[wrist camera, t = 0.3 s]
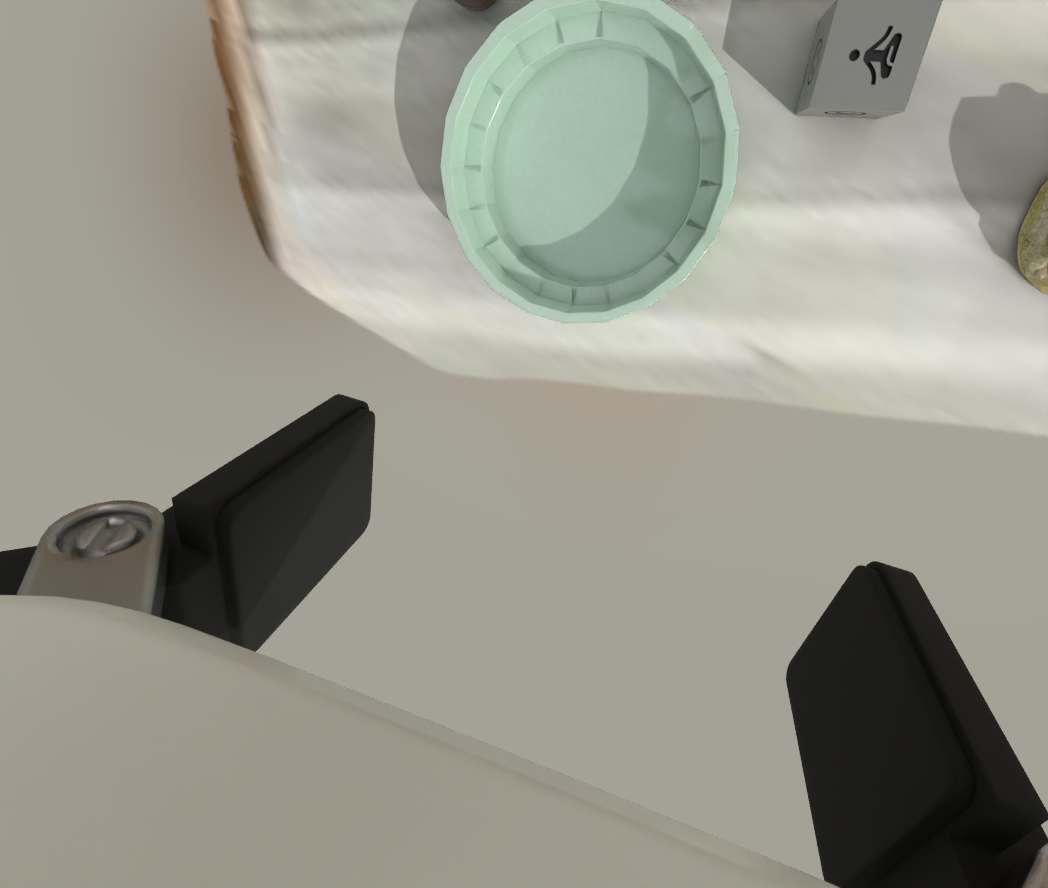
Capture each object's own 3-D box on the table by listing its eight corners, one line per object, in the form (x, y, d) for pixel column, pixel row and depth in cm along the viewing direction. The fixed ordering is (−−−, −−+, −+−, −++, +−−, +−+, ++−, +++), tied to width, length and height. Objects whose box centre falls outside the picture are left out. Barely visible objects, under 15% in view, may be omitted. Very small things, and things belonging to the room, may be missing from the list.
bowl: (431, 101, 41) (393, 91, 35) (685, -58, 33) (685, -101, 28) (528, 336, 47) (508, 357, 42) (761, 251, 39) (771, 263, 34)
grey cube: (877, 118, 34) (904, 111, 30) (794, 115, 35) (809, 107, 31) (909, 21, 32) (943, -3, 27) (819, 20, 33) (838, -3, 28)
